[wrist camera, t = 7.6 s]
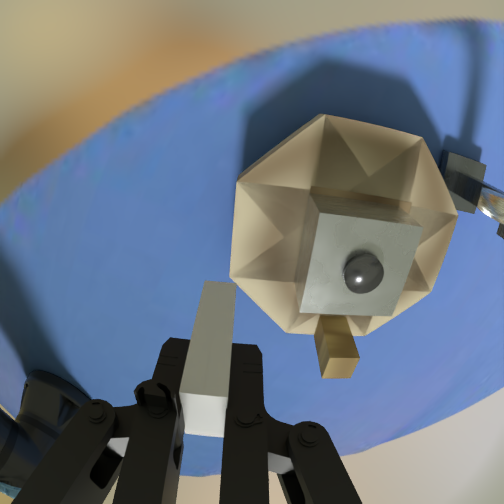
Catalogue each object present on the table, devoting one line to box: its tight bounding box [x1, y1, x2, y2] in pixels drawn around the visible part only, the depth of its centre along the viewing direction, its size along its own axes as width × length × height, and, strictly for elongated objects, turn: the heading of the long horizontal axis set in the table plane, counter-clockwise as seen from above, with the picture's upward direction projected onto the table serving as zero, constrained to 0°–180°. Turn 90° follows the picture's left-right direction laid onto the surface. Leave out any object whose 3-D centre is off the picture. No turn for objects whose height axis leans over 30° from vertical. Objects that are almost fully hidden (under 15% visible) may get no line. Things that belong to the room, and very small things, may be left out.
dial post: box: [439, 150, 504, 239], centre depth 16 cm, size 10×5×15 cm, turn 85°
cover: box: [294, 193, 423, 316], centre depth 20 cm, size 7×7×5 cm
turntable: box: [229, 114, 458, 378], centre depth 21 cm, size 18×18×7 cm
